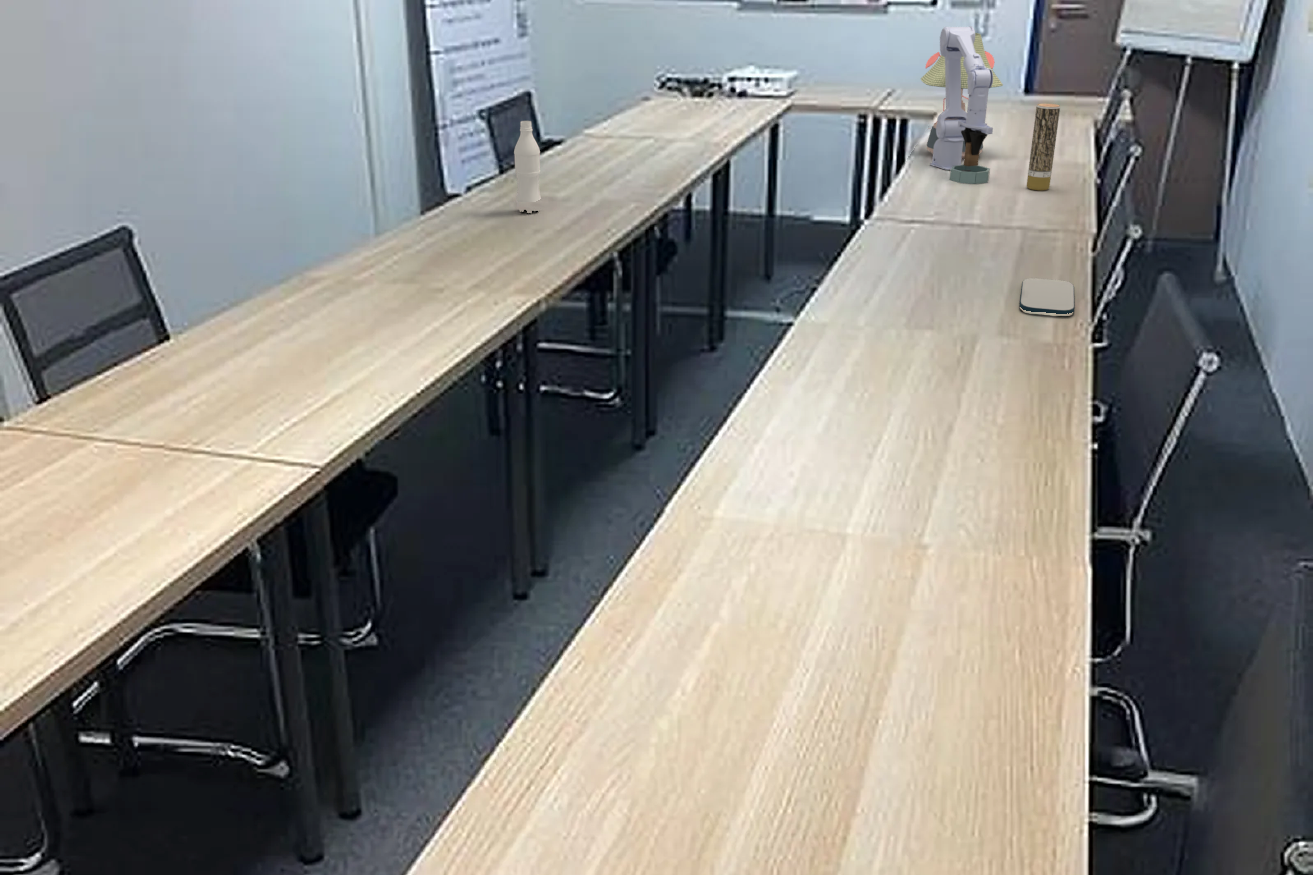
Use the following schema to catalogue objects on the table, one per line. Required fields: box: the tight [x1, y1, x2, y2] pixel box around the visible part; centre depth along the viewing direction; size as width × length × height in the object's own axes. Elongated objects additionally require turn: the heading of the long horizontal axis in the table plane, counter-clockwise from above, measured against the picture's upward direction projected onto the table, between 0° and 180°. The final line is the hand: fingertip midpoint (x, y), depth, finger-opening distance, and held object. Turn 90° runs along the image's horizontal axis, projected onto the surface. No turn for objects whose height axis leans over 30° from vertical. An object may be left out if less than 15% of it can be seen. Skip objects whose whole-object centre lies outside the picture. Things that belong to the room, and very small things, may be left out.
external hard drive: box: [1018, 277, 1076, 314], centre depth 277 cm, size 24×12×2 cm, turn 163°
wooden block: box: [963, 142, 980, 166], centre depth 389 cm, size 2×4×7 cm, turn 115°
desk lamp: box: [920, 32, 1004, 160], centre depth 419 cm, size 26×28×42 cm
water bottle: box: [513, 120, 542, 202], centre depth 346 cm, size 7×7×25 cm
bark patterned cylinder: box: [1026, 103, 1061, 192], centre depth 376 cm, size 7×7×25 cm
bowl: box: [949, 164, 991, 185], centre depth 391 cm, size 12×12×4 cm
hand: (972, 154), depth 389 cm, fingers closed on wooden block, 2 cm apart
